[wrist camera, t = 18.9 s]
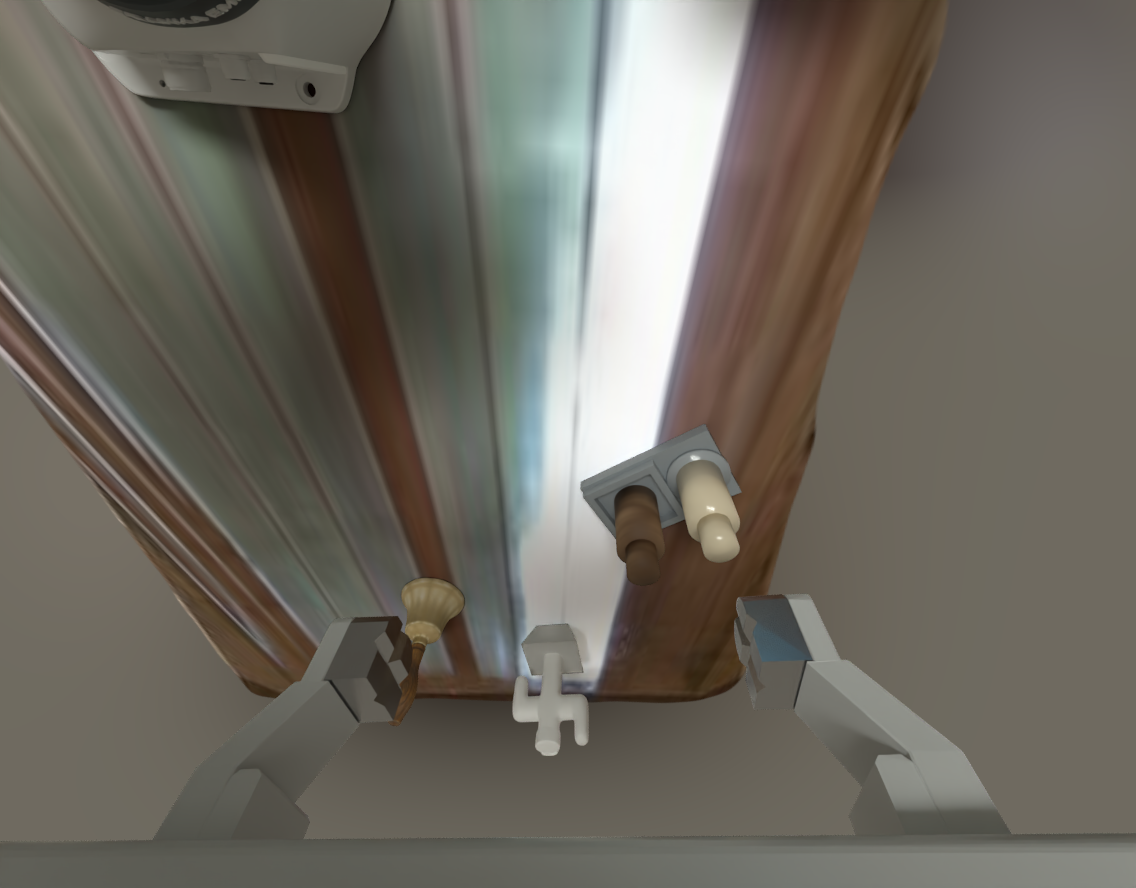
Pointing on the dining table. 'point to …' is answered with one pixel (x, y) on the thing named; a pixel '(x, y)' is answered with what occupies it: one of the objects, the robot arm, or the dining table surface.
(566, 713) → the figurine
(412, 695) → the hand bell
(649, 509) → the pepper mill
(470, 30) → the dining table surface
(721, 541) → the cruet stand
